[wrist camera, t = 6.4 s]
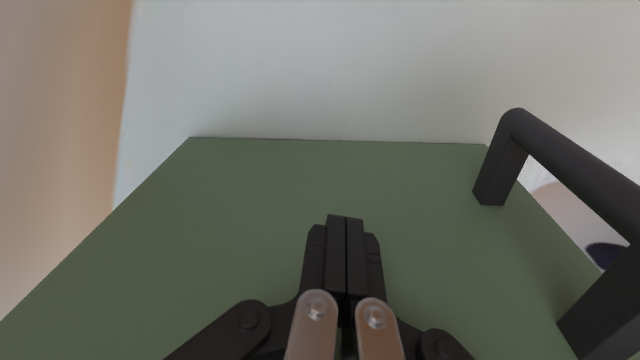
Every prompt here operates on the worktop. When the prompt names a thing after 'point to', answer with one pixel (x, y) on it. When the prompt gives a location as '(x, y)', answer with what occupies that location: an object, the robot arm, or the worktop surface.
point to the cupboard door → (378, 218)
